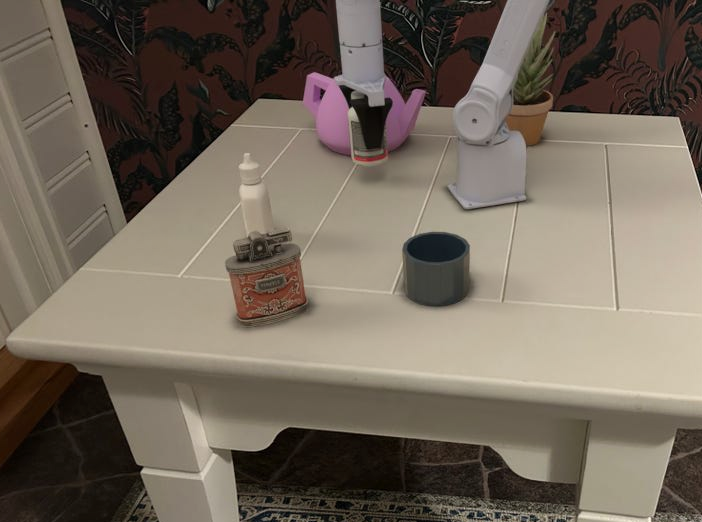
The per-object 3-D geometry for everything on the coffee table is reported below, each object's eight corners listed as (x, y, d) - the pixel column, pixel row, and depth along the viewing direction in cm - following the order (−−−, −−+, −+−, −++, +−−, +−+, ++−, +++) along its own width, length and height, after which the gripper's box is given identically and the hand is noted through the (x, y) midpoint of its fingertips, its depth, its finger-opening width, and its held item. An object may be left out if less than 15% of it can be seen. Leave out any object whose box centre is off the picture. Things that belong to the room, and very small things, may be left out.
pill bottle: (394, 161, 108) (391, 94, 102) (362, 170, 105) (356, 101, 99) (377, 150, 111) (372, 84, 105) (345, 158, 109) (338, 91, 103)
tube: (456, 267, 90) (456, 227, 87) (478, 299, 84) (479, 257, 81) (397, 278, 88) (394, 237, 85) (415, 311, 82) (413, 269, 79)
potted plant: (495, 127, 128) (501, -30, 113) (550, 130, 127) (563, -29, 112) (490, 149, 120) (495, -17, 105) (548, 152, 119) (562, -15, 104)
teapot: (284, 148, 121) (273, 73, 113) (330, 118, 132) (323, 47, 125) (405, 168, 114) (402, 90, 107) (443, 134, 125) (442, 61, 118)
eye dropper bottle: (235, 249, 94) (217, 160, 87) (260, 230, 98) (245, 143, 91) (264, 256, 93) (248, 165, 85) (288, 236, 97) (275, 148, 89)
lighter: (242, 331, 80) (224, 250, 73) (234, 315, 82) (216, 235, 76) (312, 311, 83) (301, 232, 76) (303, 297, 85) (291, 219, 79)
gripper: (321, 31, 103) (331, 127, 111) (343, 59, 92) (352, 162, 100) (370, 27, 104) (376, 121, 113) (397, 53, 93) (402, 156, 102)
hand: (368, 140), depth 106 cm, fingers closed on pill bottle, 5 cm apart
